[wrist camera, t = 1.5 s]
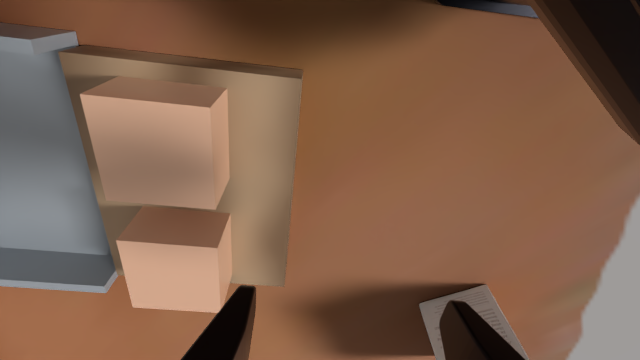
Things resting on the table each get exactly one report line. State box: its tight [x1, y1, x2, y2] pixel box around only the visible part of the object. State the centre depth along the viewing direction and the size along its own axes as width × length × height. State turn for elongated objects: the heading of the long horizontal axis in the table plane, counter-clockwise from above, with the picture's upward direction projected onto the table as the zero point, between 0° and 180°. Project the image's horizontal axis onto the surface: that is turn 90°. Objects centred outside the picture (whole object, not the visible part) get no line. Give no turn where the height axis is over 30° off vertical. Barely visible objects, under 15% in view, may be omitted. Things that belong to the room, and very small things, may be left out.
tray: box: [0, 23, 118, 293], centre depth 19 cm, size 10×15×3 cm, turn 174°
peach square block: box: [116, 206, 232, 313], centre depth 19 cm, size 5×5×3 cm
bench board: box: [58, 45, 303, 287], centre depth 20 cm, size 11×14×2 cm
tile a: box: [80, 76, 230, 210], centre depth 16 cm, size 5×5×3 cm
